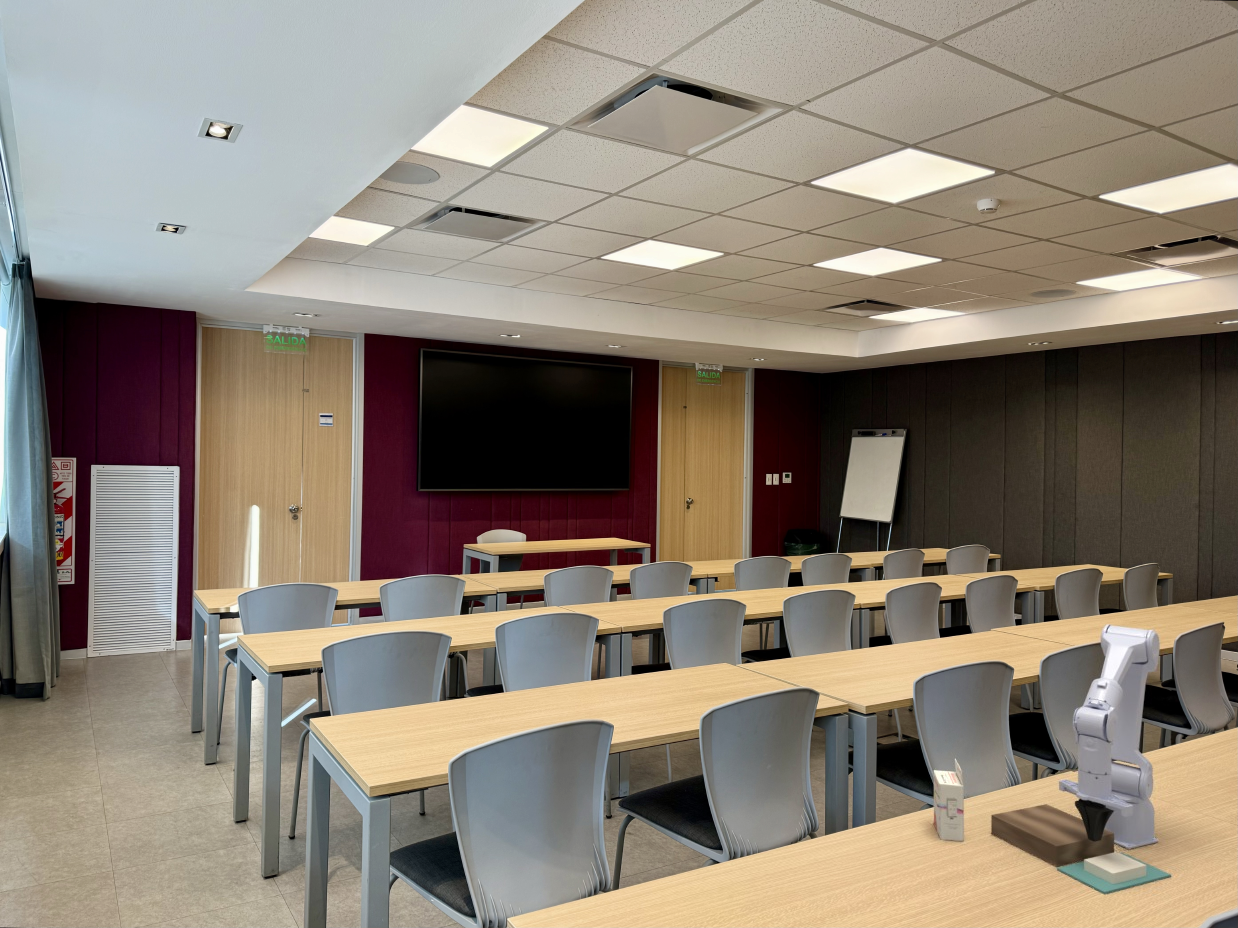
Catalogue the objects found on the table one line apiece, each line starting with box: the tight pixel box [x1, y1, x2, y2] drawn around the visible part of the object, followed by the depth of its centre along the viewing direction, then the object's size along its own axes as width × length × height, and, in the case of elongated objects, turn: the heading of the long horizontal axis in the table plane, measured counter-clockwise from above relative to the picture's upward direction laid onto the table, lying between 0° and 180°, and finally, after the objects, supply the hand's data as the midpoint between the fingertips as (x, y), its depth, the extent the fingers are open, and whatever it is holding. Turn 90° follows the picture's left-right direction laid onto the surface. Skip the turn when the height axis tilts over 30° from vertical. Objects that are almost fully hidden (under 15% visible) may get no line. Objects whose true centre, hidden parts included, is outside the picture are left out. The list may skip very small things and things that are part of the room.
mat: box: [1056, 852, 1172, 895], centre depth 159 cm, size 18×10×1 cm, turn 112°
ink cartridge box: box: [933, 758, 965, 842], centre depth 177 cm, size 9×5×15 cm, turn 168°
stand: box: [990, 804, 1115, 868], centre depth 172 cm, size 16×16×4 cm
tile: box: [1083, 851, 1146, 884], centre depth 158 cm, size 9×6×2 cm, turn 112°
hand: (1094, 839), depth 163 cm, fingers closed
